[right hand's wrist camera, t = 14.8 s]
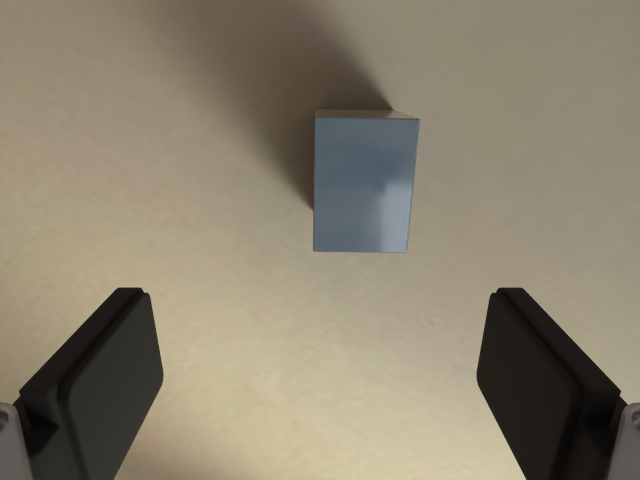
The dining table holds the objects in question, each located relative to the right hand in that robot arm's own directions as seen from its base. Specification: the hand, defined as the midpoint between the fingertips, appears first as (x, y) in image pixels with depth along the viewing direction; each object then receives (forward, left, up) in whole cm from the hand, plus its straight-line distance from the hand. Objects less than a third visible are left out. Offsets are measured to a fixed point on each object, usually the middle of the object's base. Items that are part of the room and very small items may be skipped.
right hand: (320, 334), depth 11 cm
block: (-3, 0, -18) cm, 18 cm away
